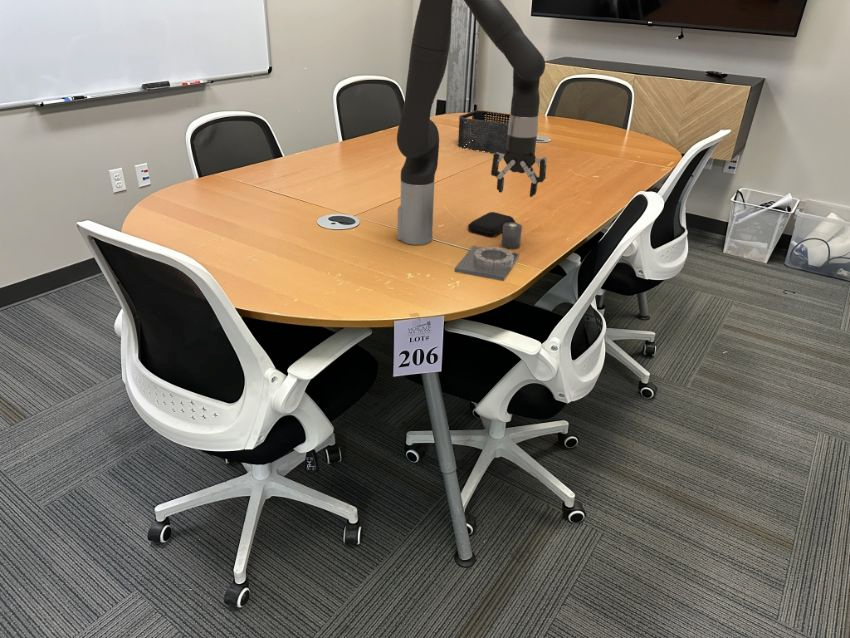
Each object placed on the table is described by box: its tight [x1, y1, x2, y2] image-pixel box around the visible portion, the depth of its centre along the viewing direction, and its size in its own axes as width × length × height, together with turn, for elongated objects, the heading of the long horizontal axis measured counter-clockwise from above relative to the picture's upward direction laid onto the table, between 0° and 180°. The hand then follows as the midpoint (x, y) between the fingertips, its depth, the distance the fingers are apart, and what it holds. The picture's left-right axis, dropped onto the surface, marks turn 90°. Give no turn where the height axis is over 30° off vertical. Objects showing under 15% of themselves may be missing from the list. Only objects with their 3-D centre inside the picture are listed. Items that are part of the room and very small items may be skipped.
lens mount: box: [454, 245, 520, 282], centre depth 161 cm, size 13×16×3 cm
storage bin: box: [457, 110, 510, 154], centre depth 266 cm, size 29×19×13 cm
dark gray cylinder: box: [500, 222, 523, 250], centre depth 171 cm, size 5×5×6 cm
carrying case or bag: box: [467, 211, 517, 237], centre depth 184 cm, size 11×3×15 cm
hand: (516, 194), depth 165 cm, fingers open, 8 cm apart
